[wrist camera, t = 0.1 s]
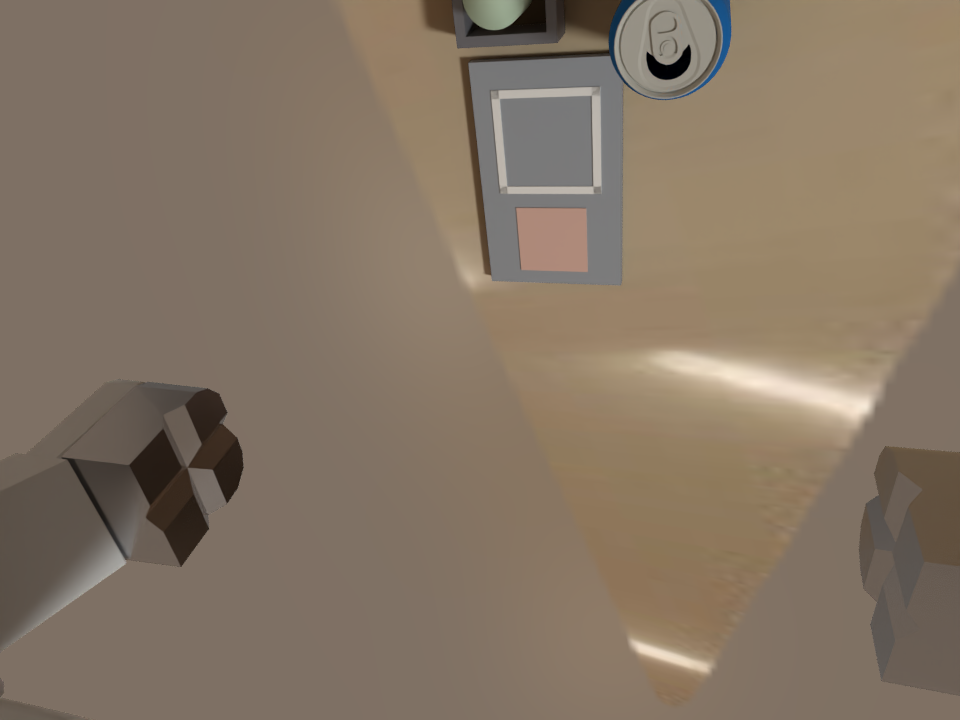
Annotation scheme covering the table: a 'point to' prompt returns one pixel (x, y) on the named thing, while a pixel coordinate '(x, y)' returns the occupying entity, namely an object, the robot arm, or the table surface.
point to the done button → (495, 12)
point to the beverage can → (669, 44)
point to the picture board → (551, 167)
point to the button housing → (509, 29)
